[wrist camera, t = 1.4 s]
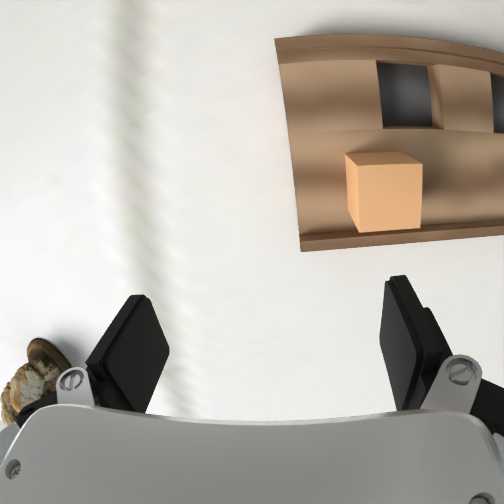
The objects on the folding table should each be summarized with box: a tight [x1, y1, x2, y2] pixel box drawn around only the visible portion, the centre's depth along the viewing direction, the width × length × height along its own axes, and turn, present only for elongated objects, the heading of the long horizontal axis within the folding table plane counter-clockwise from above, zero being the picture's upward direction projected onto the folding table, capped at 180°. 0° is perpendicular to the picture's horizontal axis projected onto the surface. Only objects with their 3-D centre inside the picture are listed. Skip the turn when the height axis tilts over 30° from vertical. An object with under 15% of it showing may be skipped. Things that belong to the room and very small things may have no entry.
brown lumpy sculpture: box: [0, 338, 72, 427], centre depth 42 cm, size 18×12×17 cm, turn 161°
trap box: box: [274, 34, 504, 252], centre depth 23 cm, size 18×34×4 cm, turn 98°
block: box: [345, 152, 422, 233], centre depth 23 cm, size 5×5×5 cm
